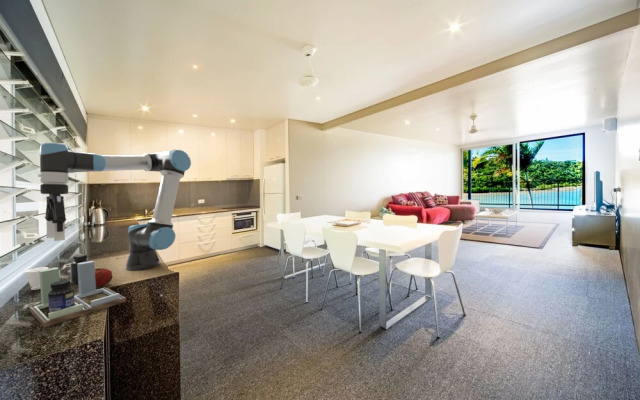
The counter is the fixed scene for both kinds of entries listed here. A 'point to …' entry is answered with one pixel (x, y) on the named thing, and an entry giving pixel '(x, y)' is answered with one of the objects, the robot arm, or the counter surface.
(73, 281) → the supplement bottle
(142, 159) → the robot arm
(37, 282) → the cup
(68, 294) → the pill bottle
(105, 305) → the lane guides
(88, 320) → the counter surface
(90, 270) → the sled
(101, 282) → the tomato
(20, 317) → the counter surface
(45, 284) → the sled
